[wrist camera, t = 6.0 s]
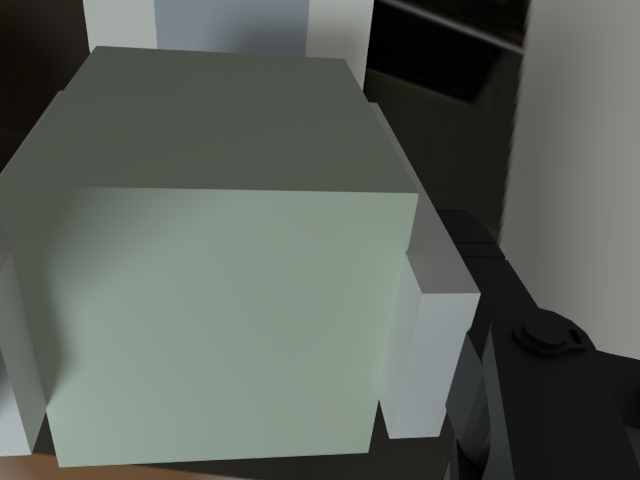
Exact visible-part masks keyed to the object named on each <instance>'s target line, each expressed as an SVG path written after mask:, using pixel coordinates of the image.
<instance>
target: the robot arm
mask: <svg viewBox="0 0 640 480" xmlns="http://www.w3.org/2000/svg"><path fill="white" fill-rule="evenodd" d="M62 92H63V91H59V92H58V93H57V95H56V96H55V97H54V99H53V100H52V102H51V103H50V104H49V106H48V107H47V109H46V110H45V111H44V113H43V114H42V116H41V117H40V119H39V120H38V121H37V123H36V124H35V126H34V127H33V128H32V130H31V131H30V133H29V134H28V135H27V137H26V138H25V140H24V141H23V142H22V144H21V145H20V147H19V148H18V150H17V151H16V152H15V154H14V155H13V157H12V158H11V159H10V161H9V162H8V164H7V165H6V166H5V168H4V169H3V171H2V172H1V174H0V177H1V176H2V174H3V173H4V172H5V170H6V169H7V168H8V166H9V165H10V163H11V162H12V161H13V159H14V158H15V157H16V155H17V154H18V152H19V151H20V150H21V148H22V147H23V146H24V144H25V143H26V141H27V140H28V139H29V137H30V136H31V135H32V133H33V132H34V130H35V129H36V128H37V126H38V125H39V124H40V122H41V121H42V119H43V118H44V117H45V115H46V114H47V113H48V111H49V110H50V108H51V107H52V106H53V104H54V103H55V102H56V100H57V99H58V97H59V96H60V95H61V93H62ZM369 104H370V106H371V108H372V109H373V111H374V113H375V115H376V117H377V118H378V120H379V122H380V124H381V126H382V127H383V129H384V131H385V133H386V135H387V136H388V138H389V140H390V142H391V144H392V145H393V147H394V149H395V151H396V153H397V154H398V156H399V158H400V160H401V162H402V163H403V165H404V167H405V169H406V171H407V173H408V174H409V176H410V178H411V180H412V182H413V183H414V185H415V187H416V189H417V191H418V192H419V196H418V201H417V206H416V212H415V217H414V222H413V227H412V232H411V237H410V242H409V247H408V252H405V255H404V260H403V265H402V271H401V276H400V281H399V286H398V292H397V297H396V302H395V308H394V313H393V318H392V323H391V329H390V334H389V339H388V345H387V350H386V355H385V361H384V366H383V371H382V376H381V382H380V387H379V392H378V396H379V400H380V404H381V407H382V411H383V415H384V419H385V423H386V427H387V431H388V435H389V438H390V439H391V438H414V437H436V436H439V434H440V431H441V427H442V424H443V420H444V417H445V414H446V410H447V412H448V415H449V418H450V421H451V423H452V426H453V429H454V431H455V434H456V436H455V439H454V442H453V445H452V448H451V452H450V455H449V458H448V461H447V464H446V467H445V471H444V474H443V477H442V480H640V360H637V359H633V358H628V357H624V356H619V355H614V354H609V353H605V352H602V351H598V350H596V348H595V346H594V344H593V343H592V341H591V340H590V338H589V337H588V335H587V334H586V333H585V332H584V331H583V330H582V329H581V328H579V327H578V326H577V325H576V324H574V323H573V322H572V321H571V320H569V319H567V318H565V317H563V316H561V315H559V314H557V313H555V312H553V311H549V310H545V309H541V308H538V306H537V305H536V303H535V302H534V300H533V299H532V297H531V295H530V294H529V292H528V291H527V289H526V288H525V286H524V285H523V283H522V282H521V280H520V279H519V277H518V275H517V274H516V272H515V271H514V270H513V268H512V266H511V265H510V263H509V262H508V260H505V256H504V254H503V252H502V251H501V249H500V248H499V246H496V242H495V240H494V239H493V237H492V236H491V234H490V233H489V231H488V230H487V228H486V226H485V225H484V224H483V223H481V222H480V221H479V220H477V219H476V218H475V217H473V216H472V215H471V214H469V213H468V212H466V211H465V210H464V209H435V208H434V207H433V205H432V203H431V201H430V199H429V197H428V196H427V194H426V192H425V190H424V188H423V186H422V185H421V183H420V181H419V179H418V177H417V175H416V174H415V172H414V170H413V168H412V166H411V164H410V163H409V161H408V159H407V157H406V155H405V153H404V152H403V150H402V148H401V146H400V144H399V142H398V141H397V139H396V137H395V135H394V133H393V131H392V130H391V128H390V126H389V124H388V122H387V120H386V119H385V117H384V115H383V113H382V111H381V109H380V108H379V106H378V104H377V103H369ZM46 409H47V403H46V398H45V394H44V390H43V385H42V381H41V377H40V373H39V368H38V364H37V360H36V355H35V351H34V347H33V343H32V338H31V334H30V330H29V326H28V321H27V317H26V313H25V308H24V304H23V300H22V296H21V291H20V287H19V283H18V278H17V274H16V270H15V266H14V261H13V257H12V253H11V252H10V250H9V246H8V241H7V237H6V233H5V228H4V224H3V219H2V215H1V211H0V456H13V455H14V456H15V455H31V454H32V451H33V448H34V445H35V442H36V439H37V436H38V433H39V430H40V427H41V424H42V421H43V418H44V415H45V412H46Z"/></svg>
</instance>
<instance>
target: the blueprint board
mask: <svg viewBox="0 0 640 480" xmlns="http://www.w3.org/2000/svg"><path fill="white" fill-rule="evenodd" d="M373 3H374V0H83V4H84V12H85V19H86V26H87V33H88V41H89V48H90V54H91V52H92V51H93V49H94V48H95V47H96V46H112V47H131V48H150V49H168V50H187V51H206V52H224V53H243V54H262V55H281V56H299V57H318V58H337V59H345V61H346V62H347V64H348V66H349V68H350V70H351V71H352V73H353V75H354V77H355V79H356V80H357V82H358V84H359V86H360V88H361V89H362V91H363V85H364V77H365V69H366V60H367V52H368V44H369V36H370V28H371V20H372V12H373Z"/></svg>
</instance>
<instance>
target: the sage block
mask: <svg viewBox="0 0 640 480" xmlns="http://www.w3.org/2000/svg"><path fill="white" fill-rule="evenodd" d="M418 196H419V192H418V191H417V189H416V187H415V185H414V183H413V182H412V180H411V178H410V176H409V174H408V173H407V171H406V169H405V167H404V165H403V163H402V162H401V160H400V158H399V156H398V154H397V153H396V151H395V149H394V147H393V145H392V144H391V142H390V140H389V138H388V136H387V135H386V133H385V131H384V129H383V127H382V126H381V124H380V122H379V120H378V118H377V117H376V115H375V113H374V111H373V109H372V108H371V106H370V104H369V102H368V100H367V99H366V97H365V95H364V93H363V91H362V89H361V88H360V86H359V84H358V82H357V80H356V79H355V77H354V75H353V73H352V71H351V70H350V68H349V66H348V64H347V62H346V61H345V59H337V58H318V57H299V56H281V55H262V54H243V53H224V52H206V51H187V50H168V49H150V48H131V47H112V46H96V47H95V48H94V49H93V51H92V52H91V54H90V55H89V56H88V58H87V59H86V60H85V62H84V63H83V65H82V66H81V67H80V69H79V70H78V71H77V73H76V74H75V76H74V77H73V78H72V80H71V81H70V82H69V84H68V85H67V86H66V88H65V89H64V91H63V92H62V93H61V95H60V96H59V97H58V99H57V100H56V102H55V103H54V104H53V106H52V107H51V108H50V110H49V111H48V113H47V114H46V115H45V117H44V118H43V119H42V121H41V122H40V124H39V125H38V126H37V128H36V129H35V130H34V132H33V133H32V135H31V136H30V137H29V139H28V140H27V141H26V143H25V144H24V146H23V147H22V148H21V150H20V151H19V152H18V154H17V155H16V157H15V158H14V159H13V161H12V162H11V163H10V165H9V166H8V168H7V169H6V170H5V172H4V173H3V174H2V176H1V177H0V211H1V215H2V219H3V224H4V228H5V233H6V237H7V241H8V246H9V250H10V252H11V253H12V257H13V261H14V266H15V270H16V274H17V278H18V283H19V287H20V291H21V296H22V300H23V304H24V308H25V313H26V317H27V321H28V326H29V330H30V334H31V338H32V343H33V347H34V351H35V355H36V360H37V364H38V368H39V373H40V377H41V381H42V385H43V390H44V394H45V398H46V403H47V409H46V412H47V416H48V420H49V425H50V429H51V433H52V438H53V442H54V446H55V451H56V455H57V460H58V464H59V467H75V466H96V465H117V464H138V463H159V462H180V461H202V460H223V459H244V458H265V457H286V456H307V455H328V454H349V453H368V450H369V445H370V440H371V435H372V430H373V425H374V420H375V415H376V409H377V404H378V399H379V396H378V392H379V387H380V382H381V376H382V371H383V366H384V361H385V355H386V350H387V345H388V339H389V334H390V329H391V323H392V318H393V313H394V308H395V302H396V297H397V292H398V286H399V281H400V276H401V271H402V265H403V260H404V255H405V252H408V247H409V242H410V237H411V232H412V227H413V222H414V217H415V212H416V206H417V201H418Z"/></svg>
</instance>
